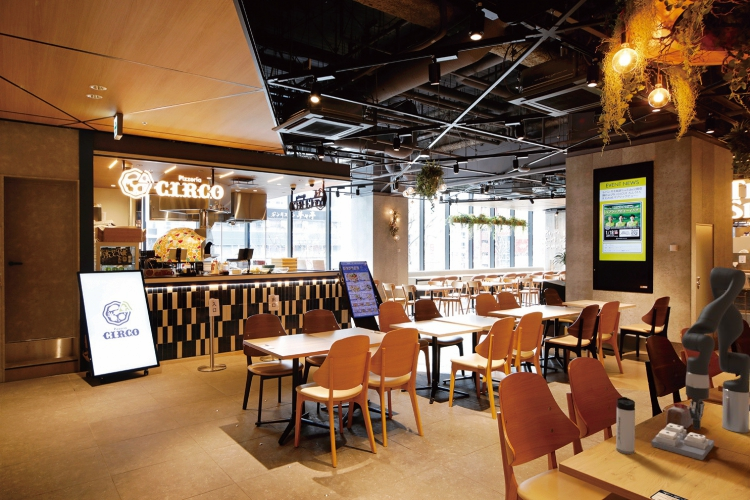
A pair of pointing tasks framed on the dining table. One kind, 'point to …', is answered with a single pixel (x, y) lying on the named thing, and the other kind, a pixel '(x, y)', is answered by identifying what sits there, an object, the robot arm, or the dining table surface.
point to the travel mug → (625, 426)
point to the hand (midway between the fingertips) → (696, 428)
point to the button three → (696, 437)
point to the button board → (683, 445)
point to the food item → (679, 415)
